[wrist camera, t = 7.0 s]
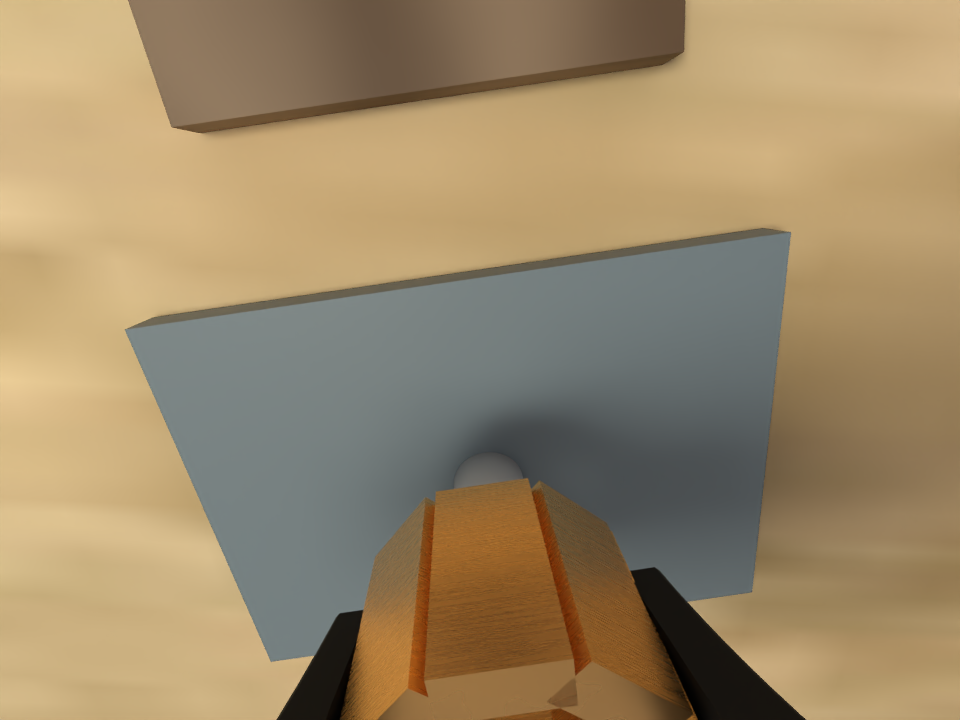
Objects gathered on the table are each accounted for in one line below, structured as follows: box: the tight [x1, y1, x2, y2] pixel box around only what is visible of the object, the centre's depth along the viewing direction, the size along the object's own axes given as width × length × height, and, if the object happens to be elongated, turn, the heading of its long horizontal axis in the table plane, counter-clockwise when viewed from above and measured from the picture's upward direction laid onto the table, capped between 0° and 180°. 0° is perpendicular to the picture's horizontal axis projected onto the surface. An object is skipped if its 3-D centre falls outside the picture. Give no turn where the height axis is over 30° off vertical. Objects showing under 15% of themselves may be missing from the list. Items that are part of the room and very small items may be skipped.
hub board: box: [125, 228, 791, 662], centre depth 13 cm, size 18×13×4 cm
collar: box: [340, 478, 698, 720], centre depth 9 cm, size 6×6×4 cm
